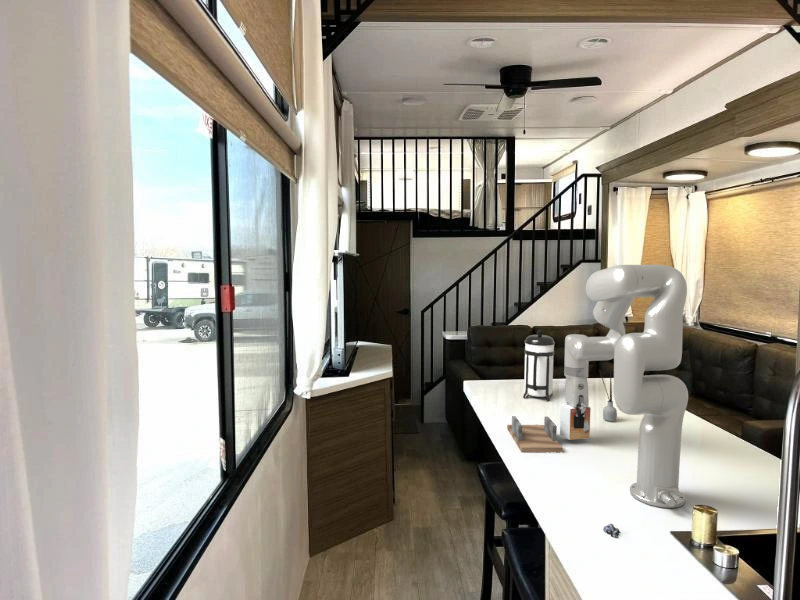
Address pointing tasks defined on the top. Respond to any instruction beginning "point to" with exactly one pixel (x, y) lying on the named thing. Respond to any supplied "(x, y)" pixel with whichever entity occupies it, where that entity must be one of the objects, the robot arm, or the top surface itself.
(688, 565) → the top surface
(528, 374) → the coffee press
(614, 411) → the reed diffuser
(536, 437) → the holder stand
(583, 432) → the small box
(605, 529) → the blueberries
